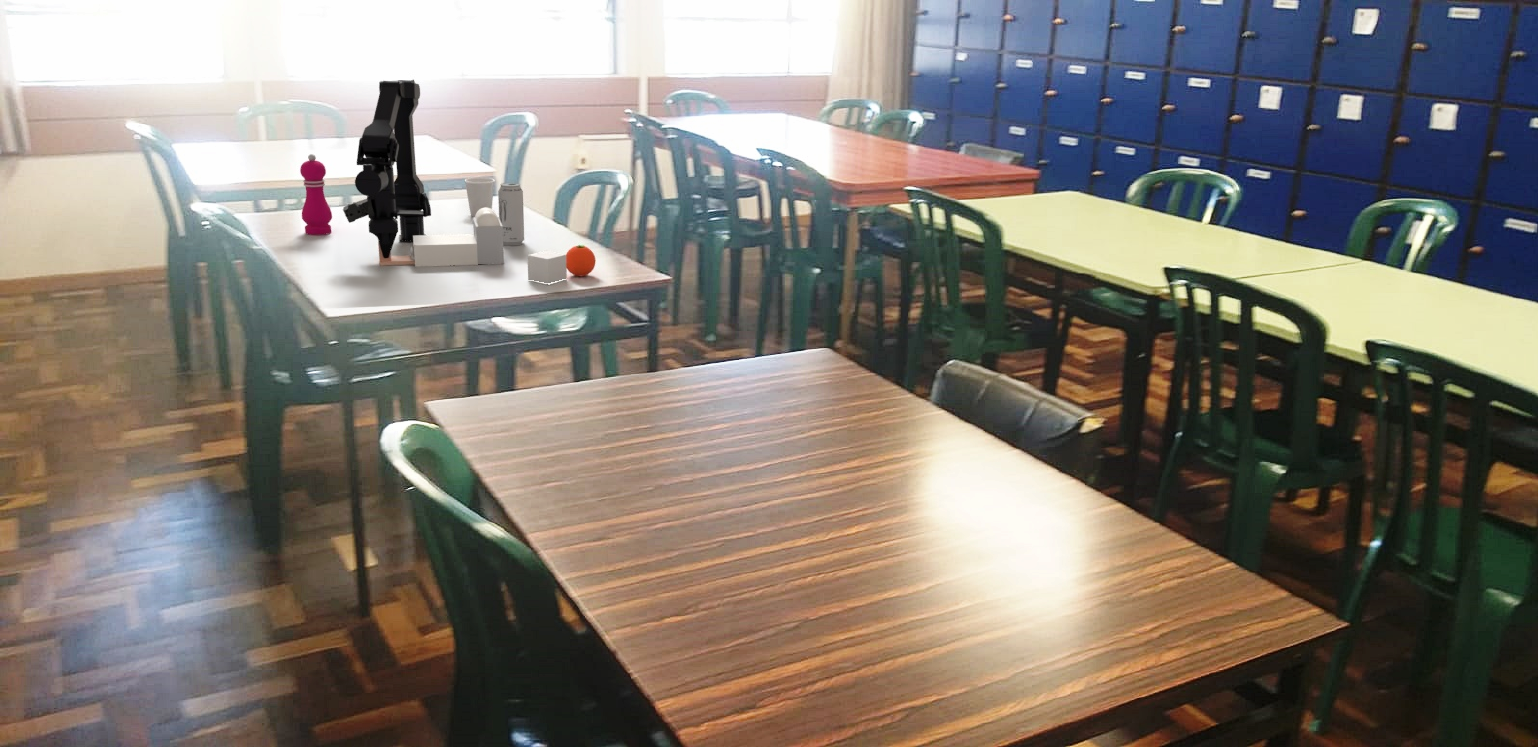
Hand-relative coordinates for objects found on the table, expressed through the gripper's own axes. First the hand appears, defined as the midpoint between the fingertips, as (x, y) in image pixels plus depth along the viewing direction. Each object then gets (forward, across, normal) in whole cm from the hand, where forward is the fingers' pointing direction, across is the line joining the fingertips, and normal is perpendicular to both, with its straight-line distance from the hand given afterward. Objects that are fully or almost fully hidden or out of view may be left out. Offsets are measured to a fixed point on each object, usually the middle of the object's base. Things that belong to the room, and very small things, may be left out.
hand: (386, 255), depth 267 cm
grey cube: (+2, +23, +34) cm, 41 cm away
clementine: (+2, +19, +42) cm, 46 cm away
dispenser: (+2, 0, +16) cm, 16 cm away
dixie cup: (+2, -56, +25) cm, 61 cm away
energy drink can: (+2, -17, +30) cm, 35 cm away
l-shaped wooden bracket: (+2, 0, +6) cm, 6 cm away
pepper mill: (+2, -36, -17) cm, 40 cm away
